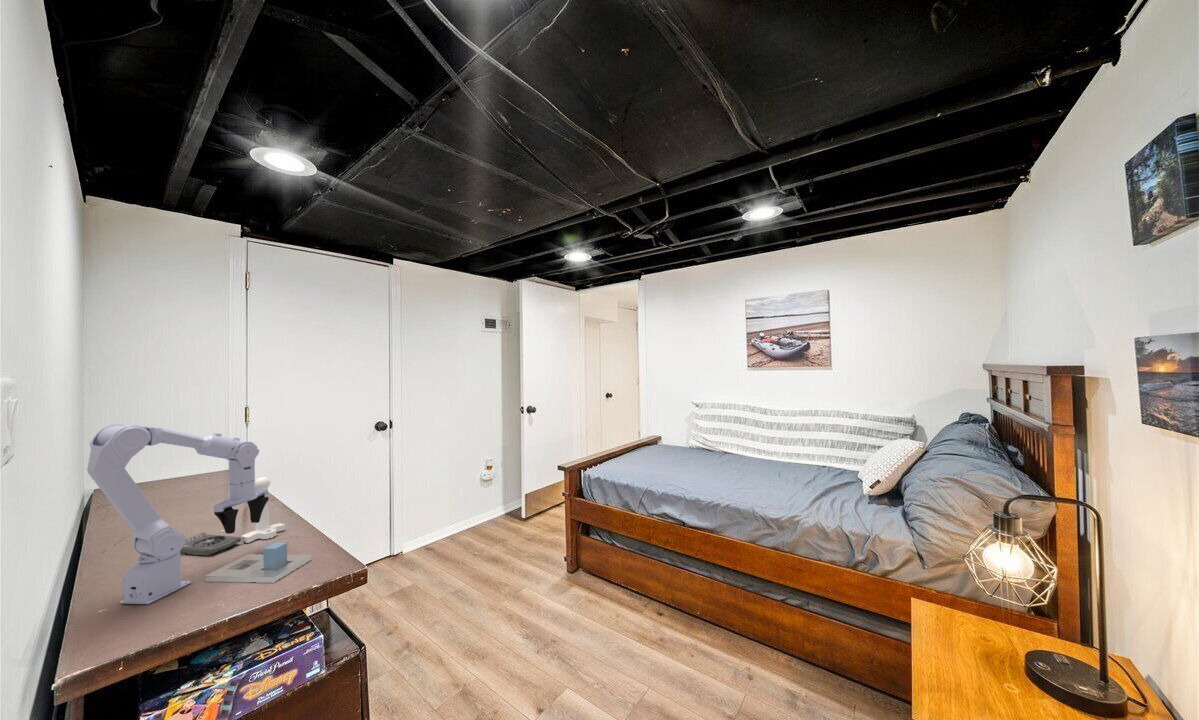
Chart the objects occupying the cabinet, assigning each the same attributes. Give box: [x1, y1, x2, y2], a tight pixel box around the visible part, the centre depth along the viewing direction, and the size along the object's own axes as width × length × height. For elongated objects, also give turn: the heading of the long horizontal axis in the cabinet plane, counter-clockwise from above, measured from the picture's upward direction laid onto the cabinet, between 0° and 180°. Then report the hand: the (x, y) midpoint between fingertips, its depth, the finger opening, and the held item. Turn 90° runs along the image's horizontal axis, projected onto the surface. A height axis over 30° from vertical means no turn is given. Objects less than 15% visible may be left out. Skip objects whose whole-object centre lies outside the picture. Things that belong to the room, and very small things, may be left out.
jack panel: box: [204, 553, 312, 584], centre depth 111 cm, size 12×20×2 cm, turn 85°
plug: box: [262, 542, 288, 570], centre depth 111 cm, size 4×4×7 cm
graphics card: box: [180, 531, 242, 556], centre depth 125 cm, size 17×4×12 cm
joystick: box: [241, 476, 286, 544], centre depth 134 cm, size 11×8×20 cm
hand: (243, 527), depth 118 cm, fingers open, 7 cm apart
